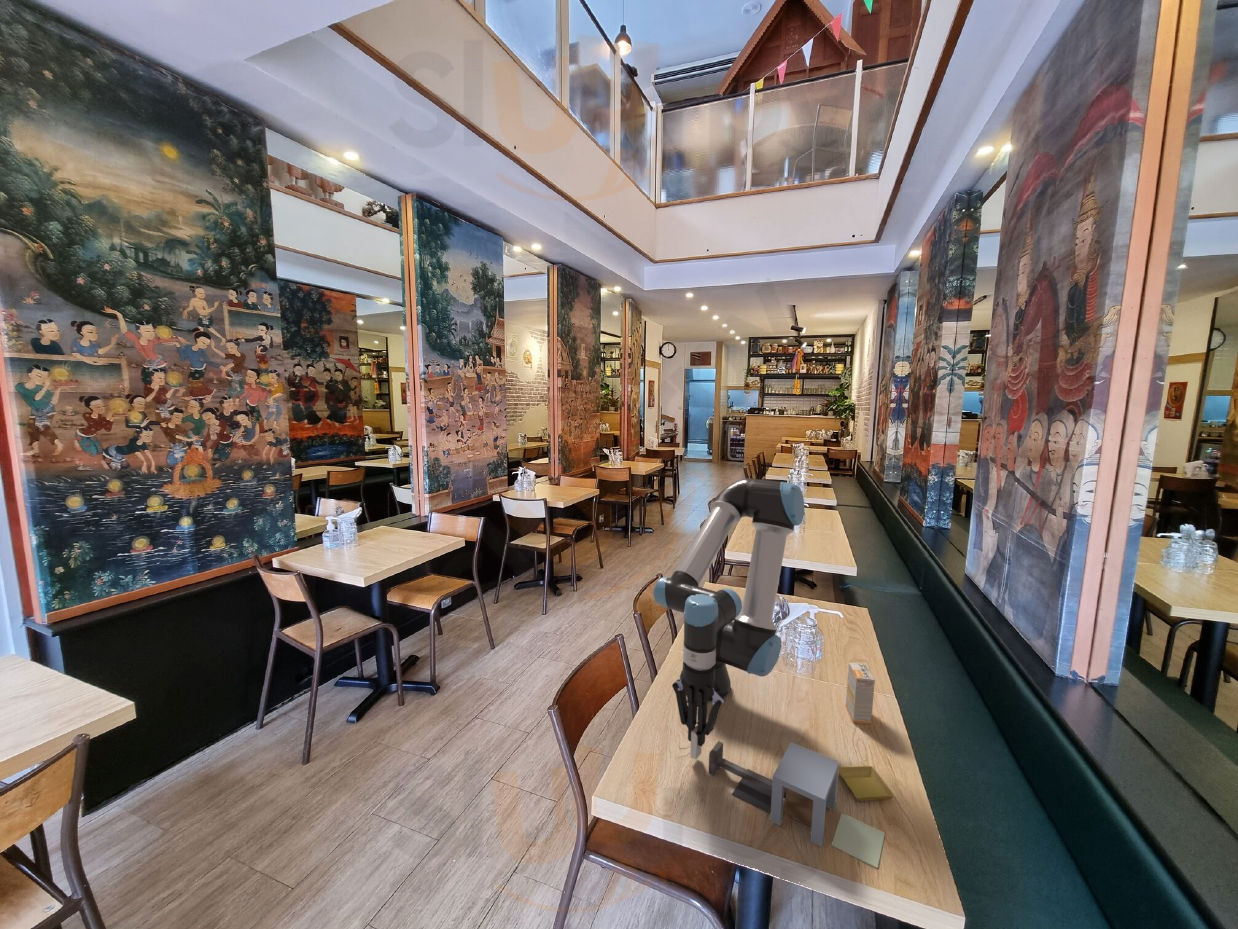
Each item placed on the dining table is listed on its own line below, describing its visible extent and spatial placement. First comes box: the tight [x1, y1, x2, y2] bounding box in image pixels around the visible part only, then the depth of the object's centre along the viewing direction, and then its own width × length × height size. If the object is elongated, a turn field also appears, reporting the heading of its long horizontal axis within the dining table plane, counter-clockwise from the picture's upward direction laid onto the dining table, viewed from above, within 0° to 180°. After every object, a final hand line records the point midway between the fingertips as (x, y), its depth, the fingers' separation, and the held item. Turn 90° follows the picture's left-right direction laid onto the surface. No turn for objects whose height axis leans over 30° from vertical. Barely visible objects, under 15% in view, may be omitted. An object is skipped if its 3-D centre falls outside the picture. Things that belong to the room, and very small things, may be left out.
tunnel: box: [769, 741, 840, 848], centre depth 101 cm, size 10×12×10 cm
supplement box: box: [845, 662, 876, 726], centre depth 133 cm, size 8×5×13 cm, turn 168°
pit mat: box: [731, 768, 773, 814], centre depth 108 cm, size 8×9×1 cm
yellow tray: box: [838, 765, 894, 801], centre depth 109 cm, size 9×9×2 cm
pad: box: [831, 812, 886, 869], centre depth 96 cm, size 8×9×1 cm
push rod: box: [708, 740, 813, 828], centre depth 107 cm, size 24×6×6 cm, turn 54°
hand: (695, 754), depth 116 cm, fingers closed
